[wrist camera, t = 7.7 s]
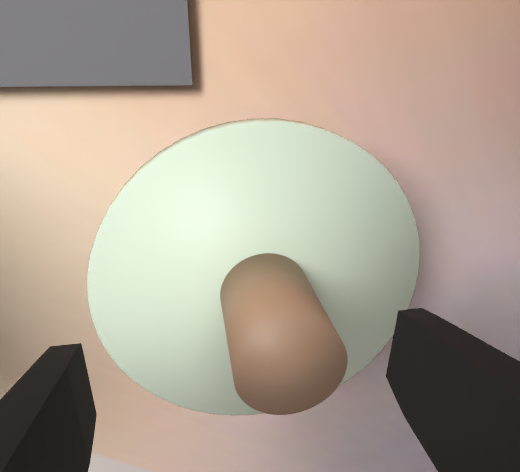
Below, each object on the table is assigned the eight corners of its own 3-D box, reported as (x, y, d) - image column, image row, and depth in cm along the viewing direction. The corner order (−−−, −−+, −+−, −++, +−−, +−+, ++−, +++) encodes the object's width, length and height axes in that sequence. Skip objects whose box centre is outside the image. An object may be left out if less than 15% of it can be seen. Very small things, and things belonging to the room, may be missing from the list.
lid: (125, 422, 17) (107, 547, 13) (52, 132, 12) (-20, 179, 8) (392, 376, 19) (456, 473, 14) (428, 106, 14) (542, 132, 9)
